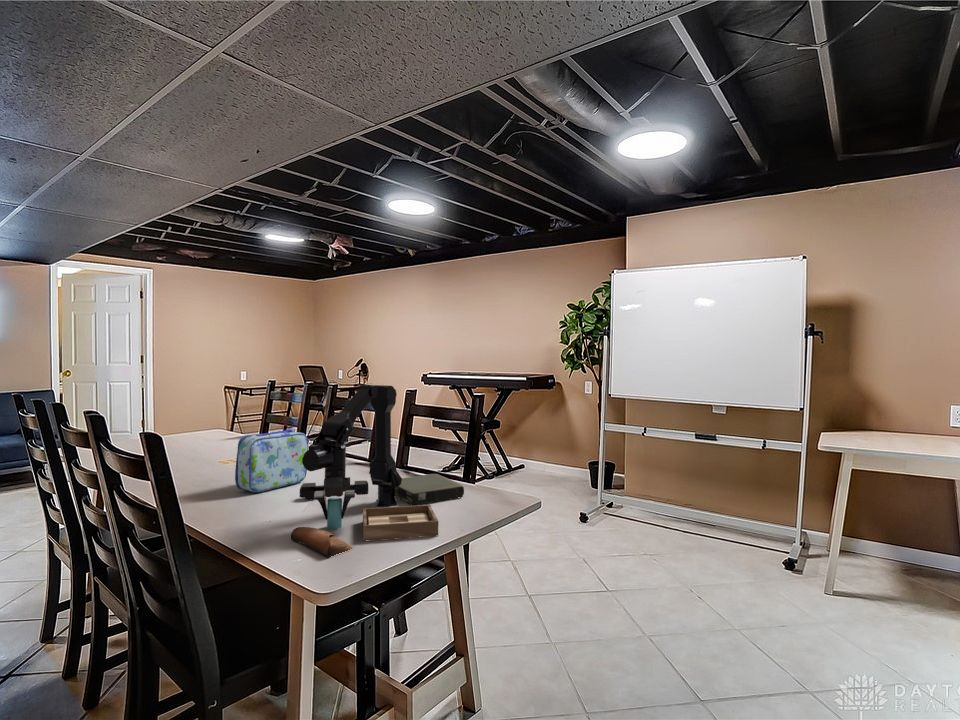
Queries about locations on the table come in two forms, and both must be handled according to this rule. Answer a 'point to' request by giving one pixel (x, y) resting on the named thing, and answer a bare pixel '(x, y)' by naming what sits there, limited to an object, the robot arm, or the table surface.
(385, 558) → the table surface
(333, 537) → the sunglasses case
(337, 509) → the peg
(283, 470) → the lunch box
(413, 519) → the open box
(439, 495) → the network switch
